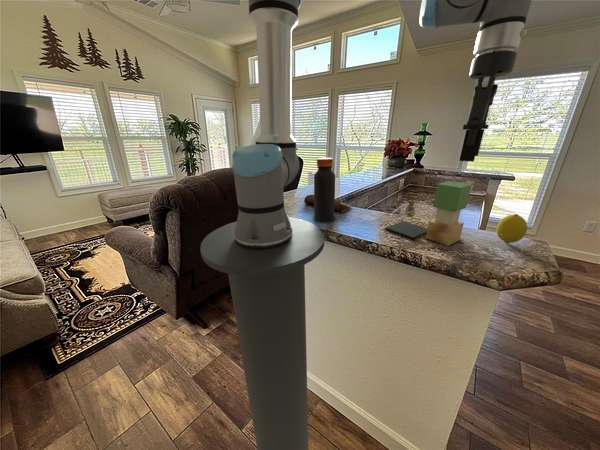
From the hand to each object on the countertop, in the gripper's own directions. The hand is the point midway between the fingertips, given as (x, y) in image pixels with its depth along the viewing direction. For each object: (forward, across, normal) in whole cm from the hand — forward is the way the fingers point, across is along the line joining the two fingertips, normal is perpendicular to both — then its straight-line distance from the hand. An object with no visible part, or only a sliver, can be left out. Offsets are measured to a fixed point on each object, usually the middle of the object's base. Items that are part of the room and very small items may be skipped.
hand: (469, 158), depth 58 cm
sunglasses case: (+21, +4, +43) cm, 48 cm away
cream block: (+16, -4, +1) cm, 16 cm away
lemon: (+21, +3, -12) cm, 24 cm away
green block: (+12, -4, +2) cm, 13 cm away
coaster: (+21, -3, +11) cm, 24 cm away
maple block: (+21, -4, +1) cm, 21 cm away
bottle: (+21, -8, +36) cm, 43 cm away
